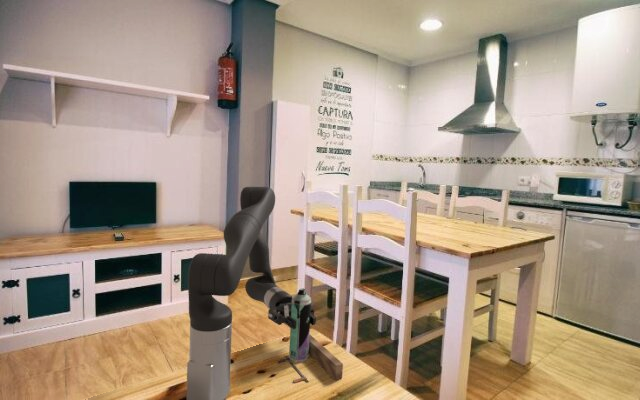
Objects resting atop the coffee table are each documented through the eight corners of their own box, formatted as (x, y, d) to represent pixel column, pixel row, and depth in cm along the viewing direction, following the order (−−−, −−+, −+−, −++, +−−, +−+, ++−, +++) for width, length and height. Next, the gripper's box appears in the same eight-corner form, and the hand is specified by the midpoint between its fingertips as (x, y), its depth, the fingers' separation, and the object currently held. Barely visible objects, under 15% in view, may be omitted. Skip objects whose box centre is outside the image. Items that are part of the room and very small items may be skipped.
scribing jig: (342, 378, 91) (342, 363, 91) (301, 391, 85) (302, 375, 84) (308, 346, 106) (309, 333, 106) (271, 355, 100) (272, 342, 100)
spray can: (307, 363, 97) (311, 293, 95) (288, 361, 97) (291, 292, 95) (308, 352, 103) (312, 286, 101) (290, 351, 103) (293, 285, 101)
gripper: (258, 293, 107) (281, 315, 93) (300, 287, 115) (327, 306, 100) (257, 317, 108) (280, 342, 93) (299, 309, 115) (326, 331, 101)
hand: (304, 323), depth 97 cm, fingers closed on spray can, 5 cm apart
